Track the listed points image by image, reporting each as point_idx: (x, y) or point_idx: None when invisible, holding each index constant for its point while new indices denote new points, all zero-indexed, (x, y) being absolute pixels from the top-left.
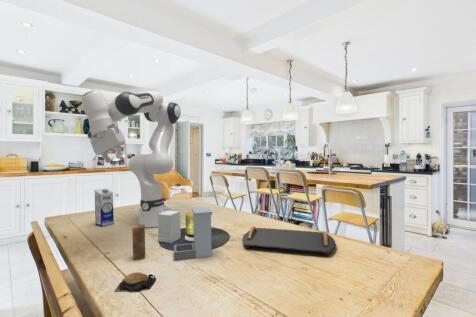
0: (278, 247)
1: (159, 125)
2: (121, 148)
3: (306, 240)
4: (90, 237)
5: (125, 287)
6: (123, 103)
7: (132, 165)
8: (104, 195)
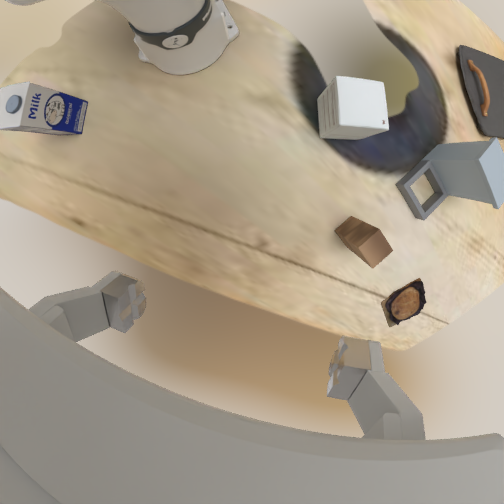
0: None
1: None
2: (420, 413)
3: None
4: (126, 195)
5: (402, 320)
6: None
7: None
8: (26, 112)
